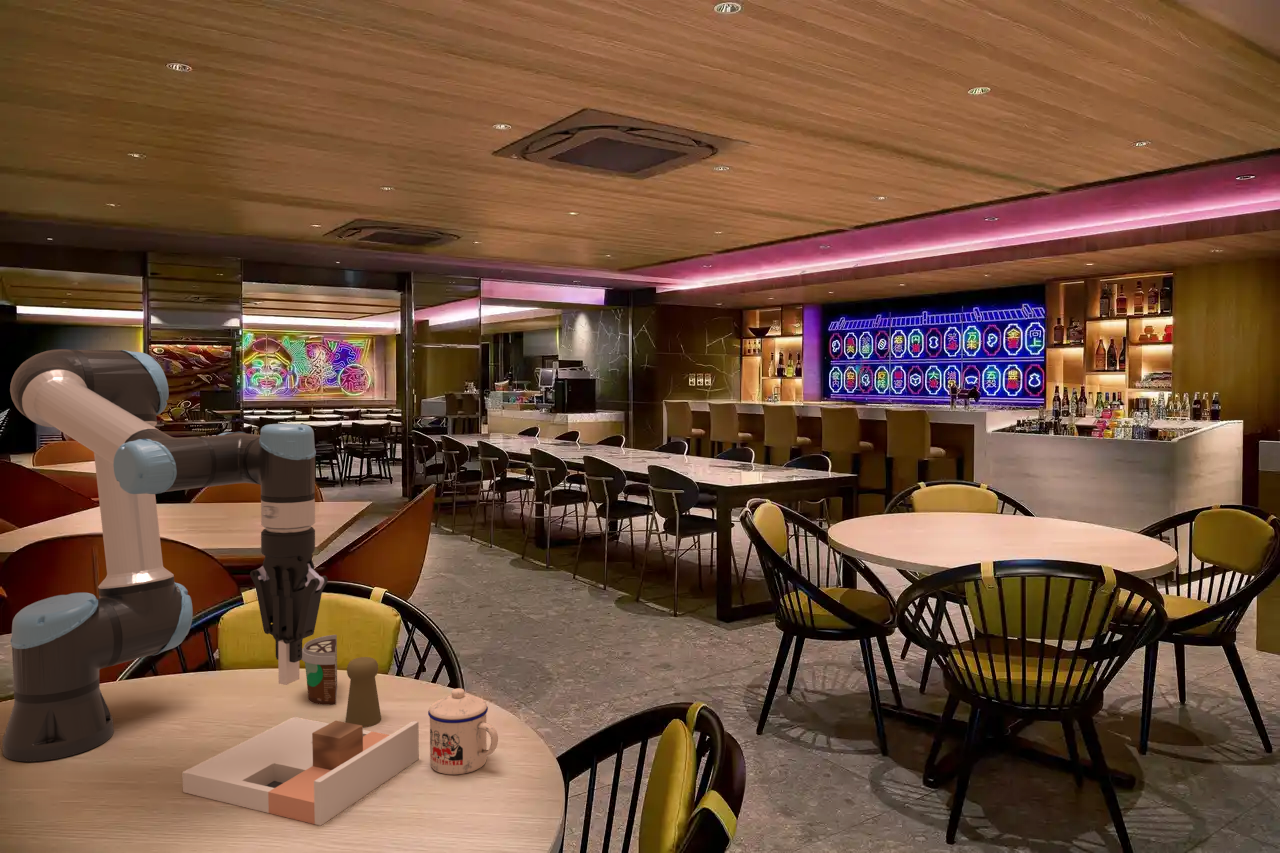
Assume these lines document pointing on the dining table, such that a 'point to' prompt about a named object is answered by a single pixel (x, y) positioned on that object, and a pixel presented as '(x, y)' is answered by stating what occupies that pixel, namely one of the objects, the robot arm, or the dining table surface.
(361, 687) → the cork
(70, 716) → the robot arm
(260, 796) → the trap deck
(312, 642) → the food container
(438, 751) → the teacup with lid
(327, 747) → the walnut block
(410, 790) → the dining table surface
